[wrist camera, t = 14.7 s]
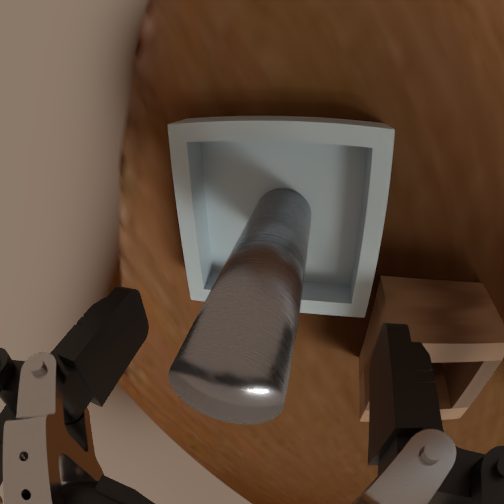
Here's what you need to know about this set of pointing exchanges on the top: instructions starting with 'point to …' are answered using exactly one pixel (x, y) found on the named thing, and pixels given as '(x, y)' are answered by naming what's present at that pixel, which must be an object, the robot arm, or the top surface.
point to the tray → (292, 177)
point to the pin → (249, 318)
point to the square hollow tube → (440, 336)
